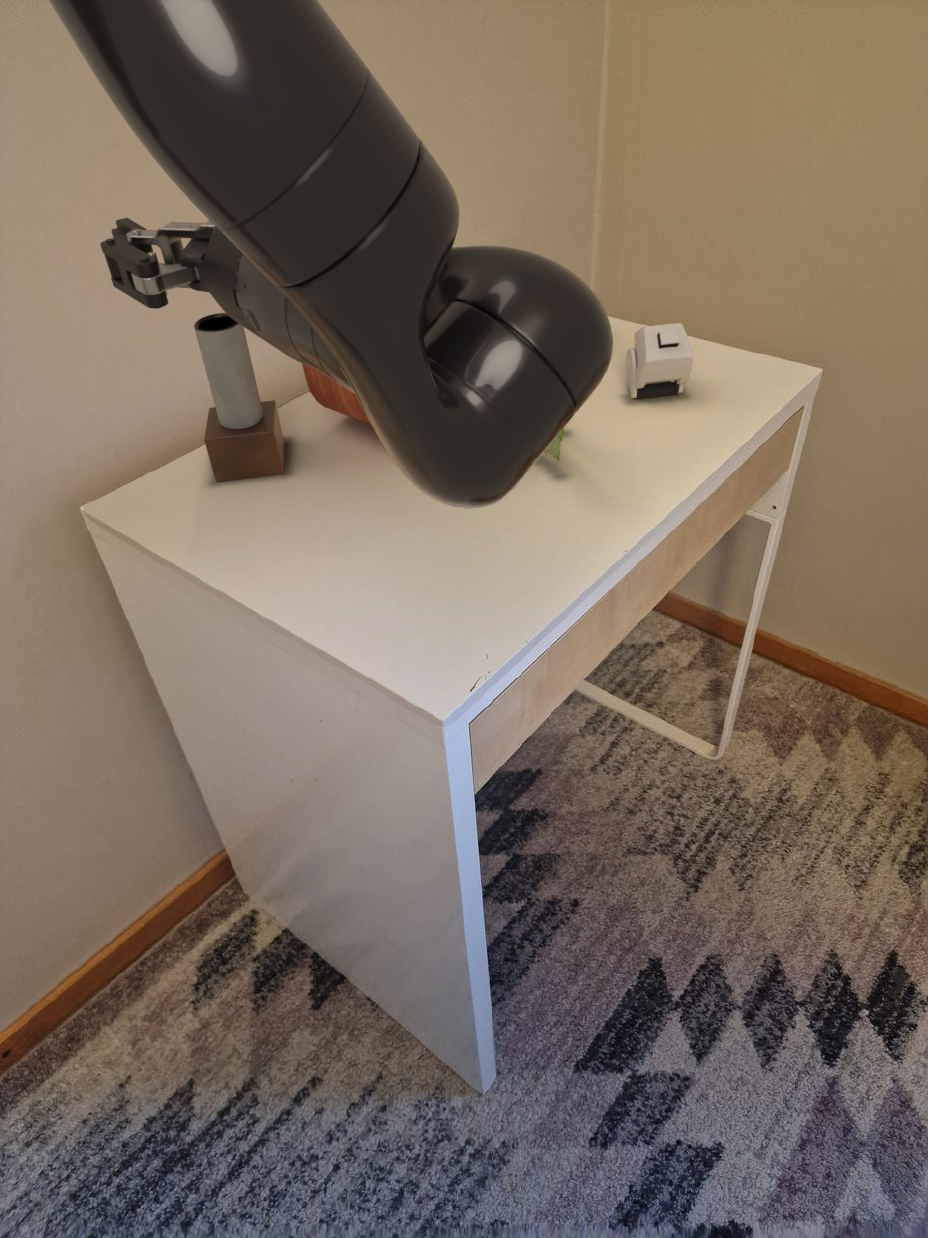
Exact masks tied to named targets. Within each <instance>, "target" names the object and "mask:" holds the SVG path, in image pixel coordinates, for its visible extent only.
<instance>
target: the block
mask: <svg viewBox="0 0 928 1238" xmlns="http://www.w3.org/2000/svg"><path fill="white" fill-rule="evenodd" d="M261 406H262V410H263V418H262V420H261V421H260V422H259V423H257V424H255V425H253V426H251V427H248V428H243V429H229V428H225V427H223V426H222V425H221V424H220V422H219V419H218V415H217V411H216V407H215V406H213V407H209V408H208V413H207V419H206V426H205V432H204V438H203V441H204V444H205V448H206V452H207V455H208V459H209V463H210V466H211V469H212V473H213V477H214V480H215V482H216V483H220V482H228V481H236V480H244V479H253V478H260V477H269V476H276V475H283V474H284V465H285V464H284V463H285V440H284V435H283V431H282V425H281V421H280V416H279V412H278V408H277V403H276V400H274V399H273V400H266V401H261Z"/></svg>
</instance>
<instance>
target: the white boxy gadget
mask: <svg viewBox="0 0 928 1238" xmlns="http://www.w3.org/2000/svg"><path fill="white" fill-rule="evenodd" d="M694 356H695V355H694V353H693V350H692V348H691V345H690V341H689V338H688V334H687V332H686V329H685V327H684V325H683V323H682V322H675V323H664V324H656V325H648V326H647V325H646V326H643V327H641V328H639V329H638V330H636V331H635V333H634V348H629V349H628V350H627V351H626V356H625V357H626V360H625V361H626V375H627V384H628V389H629V395H630V396H629V397H630V398H631V399H636V400H641V399H649V398H661V397H670V396H678V395H679V394H681V393H683V391H684V385H685V384H686V383H687V381H688V379H689V378H690V374H691V371H692V367H693V363H694Z"/></svg>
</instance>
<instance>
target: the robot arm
mask: <svg viewBox="0 0 928 1238" xmlns="http://www.w3.org/2000/svg"><path fill="white" fill-rule="evenodd" d="M48 1H49V3H50V4H51V6H52V7H53V9H54V11H55V13H56V14H57V16H58V18H59V19H60V21H61V22H62V24H63V26H64V27H65V29H66V31H67V32H68V34H69V35H70V37H71V38H72V40H73V42H74V44H75V46H76V47H77V49H78V51H79V52H80V54H81V55H82V57H83V58H84V60H85V62H86V64H87V66H88V67H89V68H90V70H91V72H92V73H93V76H94V77H95V78H96V79H97V81H98V83H99V84H100V85H101V87H102V89H103V91H104V92H105V93H106V95H107V97H108V98H109V99H110V101H111V103H112V104H113V106H114V107H115V108H116V110H117V112H118V113H119V114H120V115H121V117H122V118H123V120H124V121H125V122H126V124H127V126H128V127H129V128H130V130H131V131H132V132H133V133H134V135H135V136H136V137H137V139H138V140H139V141H140V143H141V144H142V146H143V147H144V148H145V149H146V151H147V152H148V154H150V156H151V157H152V158H153V160H154V161H155V162H156V163H157V164H158V165H159V167H160V168H161V169H162V170H163V171H164V173H165V174H166V175H167V176H168V177H169V179H170V180H171V181H172V182H173V183H174V184H175V185H176V186H177V187H178V188H179V189H180V191H181V192H182V193H183V194H184V195H185V196H186V197H187V198H188V200H189V201H190V202H191V203H192V204H193V205H194V206H195V207H196V208H197V209H198V210H199V211H200V212H201V214H202V215H204V216H205V217H206V218H207V219H208V220H207V221H205V222H185V221H184V222H183V221H181V222H180V221H170V222H169V223H167V224H164V226H162V227H160V228H158V229H147V228H145V227H144V226H142V225H140V224H139V223H137V222H135V221H134V220H132V219H131V218H129V217H123V218H120V219H119V218H118V219H116V220H115V225H116V227H115V228H112V229H111V236H112V238H110V237H109V238H106V239H105V240H104V241H102V242H100V243H99V245H100V248H101V252H102V253H103V255H104V259H105V261H106V264H107V268H108V271H109V273H110V276H111V277H110V279H111V283H112V285H113V287H114V288H115V289H117V290H119V291H120V292H122V293H123V294H125V295H127V296H128V297H130V298H131V299H133V300H135V301H136V302H138V303H139V304H141V305H143V306H144V307H146V308H148V309H162V308H163V307H166V306H168V304H169V300H168V299H169V298H168V296H169V295H168V291H170V290H173V289H176V288H178V289H180V288H181V289H191V290H194V291H196V292H203V293H208V294H210V296H211V297H212V298H213V299H214V301H215V302H216V303H217V305H218V306H219V307H220V308H221V309H222V311H223V312H224V313H227V314H228V315H229V316H230V317H231V318H232V319H233V320H234V321H236V322H237V323H239V324H240V325H242V326H243V327H244V329H246V330H248V331H249V332H251V333H252V334H254V336H255V335H256V337H259V338H260V339H261V340H263V341H264V342H265V343H267V344H269V345H270V346H271V347H273V348H275V349H277V350H278V351H280V353H282V354H284V355H286V356H287V357H289V358H290V359H292V360H295V361H296V362H298V363H301V364H302V363H304V364H306V365H309V366H312V367H314V368H316V369H317V370H319V371H320V372H322V373H323V374H325V375H326V376H328V377H329V378H331V379H333V380H334V381H336V382H337V383H338V384H340V385H342V386H343V387H345V388H346V389H348V390H349V391H351V392H353V393H354V394H356V396H357V398H358V400H359V402H360V404H361V406H362V408H363V409H364V411H365V413H366V415H367V417H368V419H369V421H370V423H371V424H370V426H372V428H373V430H374V432H375V434H376V436H377V438H378V439H379V441H380V442H381V444H382V446H383V447H384V449H385V450H386V452H387V454H388V456H390V458H391V460H392V461H393V463H394V464H395V466H396V468H398V470H399V471H400V472H401V473H402V474H403V475H404V476H405V478H406V479H407V480H409V482H410V483H411V484H412V485H413V486H414V487H416V488H417V489H418V490H419V491H421V492H422V493H423V494H425V495H426V496H428V497H430V498H431V499H433V500H435V501H436V502H438V503H441V504H443V505H446V506H450V507H453V508H460V509H466V510H469V509H481V508H486V507H489V506H492V505H495V504H496V503H498V502H500V501H502V500H503V499H504V498H505V497H506V496H508V495H509V494H510V493H511V492H512V491H513V490H514V489H515V488H516V487H517V486H518V484H519V483H520V482H521V481H522V480H523V479H524V477H525V476H526V475H527V473H528V472H529V471H530V470H531V469H532V467H533V466H534V465H535V463H536V462H537V461H538V460H539V459H540V457H542V455H543V454H544V453H545V451H546V449H547V448H548V446H549V445H550V444H551V443H552V442H553V440H554V439H555V438H556V437H557V435H558V434H559V433H560V432H561V431H562V429H563V428H564V429H565V427H566V426H567V424H569V422H570V421H571V420H572V418H573V417H574V416H575V415H576V414H577V413H578V412H579V411H580V409H581V408H582V407H583V406H584V404H585V403H586V402H587V401H588V400H589V398H590V397H591V396H592V395H593V393H594V392H595V391H596V389H597V388H598V387H599V385H601V383H602V381H603V379H604V377H605V375H606V374H607V373H608V370H609V367H610V364H611V361H612V358H613V349H614V338H613V332H612V327H611V322H610V319H609V317H608V314H607V313H606V310H605V308H604V306H603V304H602V303H601V300H599V298H598V297H597V294H595V293H594V290H592V289H591V288H590V286H588V285H587V283H585V281H583V279H581V278H580V277H579V276H578V275H577V274H576V273H574V272H572V271H571V270H570V269H568V268H566V267H565V266H563V265H561V264H560V263H558V262H556V261H554V260H552V259H550V258H547V257H546V256H543V255H540V254H538V253H535V252H532V251H528V250H523V249H519V248H514V247H509V246H502V245H501V246H499V245H469V246H467V245H465V246H454V244H455V240H456V237H457V233H458V229H459V225H460V208H459V207H460V205H459V201H458V198H457V195H456V192H455V190H454V187H453V186H452V183H451V182H450V180H449V179H448V177H447V175H446V173H445V172H444V170H443V169H442V168H441V166H440V164H439V163H438V162H437V160H436V159H435V158H434V156H433V154H432V153H431V152H430V151H429V149H428V148H427V146H426V145H425V143H423V141H422V140H421V139H420V137H419V136H418V135H417V133H416V132H415V131H414V129H413V127H412V126H411V125H410V124H409V122H408V121H407V119H406V117H404V115H403V114H402V113H401V111H400V110H399V108H398V107H397V105H396V104H395V102H394V101H393V100H392V99H391V97H390V96H389V94H388V93H387V91H386V90H385V89H384V88H383V86H382V85H381V84H380V82H379V81H378V80H377V78H376V77H375V76H374V74H373V73H372V72H371V70H370V69H369V67H368V66H367V65H366V63H365V62H364V60H362V58H361V57H360V56H359V54H358V53H357V52H356V50H355V48H354V47H353V46H352V45H351V43H350V42H349V41H348V40H347V38H346V37H345V36H344V34H343V33H342V32H341V30H340V28H339V27H338V26H337V25H336V24H335V22H334V21H333V20H332V18H331V17H330V15H328V13H327V12H326V10H325V9H324V7H323V6H322V5H321V3H320V2H319V1H318V0H48ZM182 239H190V240H189V241H188V243H187V244H186V246H185V247H184V245H183V240H182ZM153 246H157V247H158V248H159V249H160V251H161V254H162V258H163V262H159V259H158V256H157V253H156V252H155V251H154V249H153Z"/></svg>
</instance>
